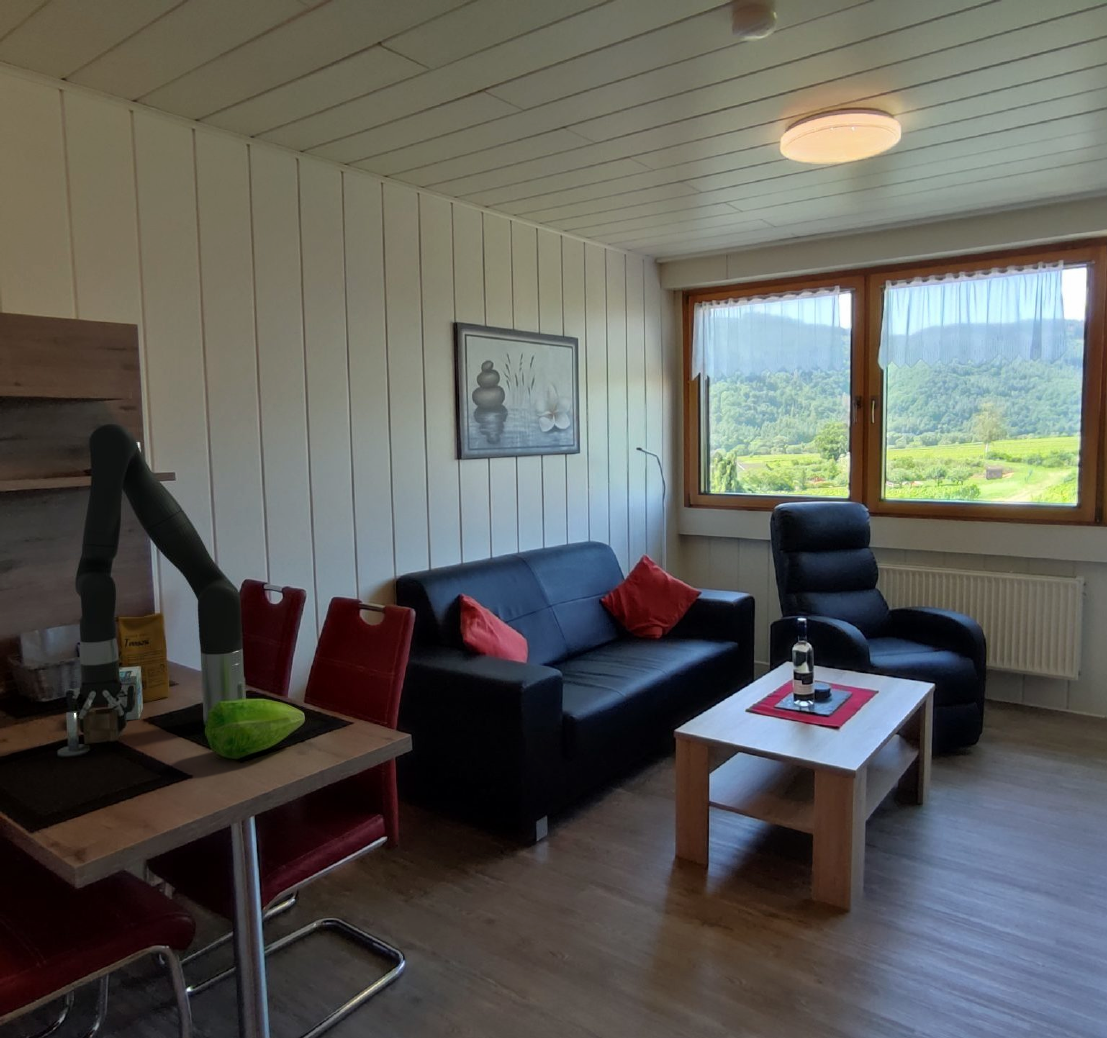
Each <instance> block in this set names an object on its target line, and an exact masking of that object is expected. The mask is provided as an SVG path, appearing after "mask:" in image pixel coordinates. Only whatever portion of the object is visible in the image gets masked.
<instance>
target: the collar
mask: <svg viewBox="0 0 1107 1038" xmlns="http://www.w3.org/2000/svg"><path fill="white" fill-rule="evenodd" d="M83 727H84V733H83V742H84V743H83V744H86V745H88V744H96V743H97V744H99V743H107V741H109V742H117V741H118V739H119V738H120V737H121V735H122V734H123V733H124V730H123V731H122V732H119V731H118V713H117V712H116V710H115V709H114V708H113V707H108V706H107V707H106V706H105V707H93V708H92V707H91V708H90V710H89V712H87V714H85V715H84V717H83Z"/></svg>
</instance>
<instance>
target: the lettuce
mask: <svg viewBox="0 0 1107 1038" xmlns="http://www.w3.org/2000/svg"><path fill="white" fill-rule="evenodd" d="M305 719H306V717H305V713H304V712H303V711H302V710H300V709H298V708H296V707H293V706H292V705H290V704H287V703H284V702H280V701H277V700H276V701H275V700H272V699H266V698H246V699H237V700H232V701H220V702H218V703H217V704H216V705H215V706H214V707H213V708H212V709H211V710H210V711H209V712H208V717H207V722H206V725H205V727H204V733H205V737H206V738H207V741H208V744H209V746H210V749H211V751H214V752H215V753H217V754H218V755H220V756H222V757H223V758H227V759H232V760H239V759H241V758H244V757H247V756H249V755H252V754H255V753H259V752H261V751H264V750H267V749H269V748H272V747H273V746H275V745H277V744H278V743H280V742H282V740H284V739H285V738H287V737H288V736H289V735H291V733H293V732H294V731H296V730H298V728H300V727H301V726H302V725H303V724H304V723H305V721H306V720H305Z"/></svg>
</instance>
